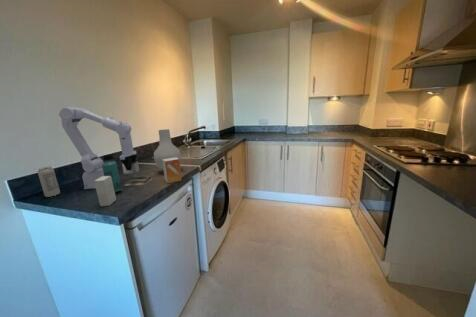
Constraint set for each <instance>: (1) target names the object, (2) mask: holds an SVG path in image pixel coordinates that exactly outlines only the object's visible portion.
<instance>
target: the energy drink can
mask: <svg viewBox="0 0 476 317" xmlns="http://www.w3.org/2000/svg"><path fill="white" fill-rule="evenodd" d="M55 172H56V171H55V169H54V168H53V167H52V166H50V165H49V166H43V167H42V166H41V167H39V168H38V170H37V175H38V178H39V181H40V185H41V187H42V188H41V189H42V191H43V195H44V197H46V198H47V197H51V196H55V197H57V196H56V195H58V194H59V195H60V194H61V190H60V186H59V183H58V179H57V177H56V176H57V175H56V173H55ZM59 195H58V196H59ZM51 198H52V197H51Z"/></svg>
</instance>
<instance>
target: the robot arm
mask: <svg viewBox="0 0 476 317" xmlns="http://www.w3.org/2000/svg"><path fill="white" fill-rule="evenodd" d="M58 116H59V117H60V119H61V127H62V129H63V130H64V132H65V133H66V134H67V136H68V138H69V139H70V141H71V143H72V144H73V145H74V147H75V149H76V150H77V152H78V153H79V155H80V156H81V159H80V163H81V164H82V165H81V166H82V169H83V171H84V172H83V173H82V181H83V185H84V187H83V189H84V190H88V189H89V190H91V189H96V187H95V183H94V181H95V180H97V179H98V178H100V177H102V176H104V172H103V167H102V164H103V163H104V162H105V161H104V159H103V158H101V157H99V155H98V154H96V153H94V152H93V150H92V148H91V147H90V145H89V144H88V142H87V140H85V138H84V136H83V134H82V133H81V132H80V130H79V128H78V125H79V123H80V122H81V121H82V120H83V119H88V120H90V121H93V122H96V123H99V124H101V126H102V127H104V128H106V129H108V130H111V131H113V132H115V133H116V134H117V135H118V136H119V139H118V140H119V142H120V149H121V155H120V156H119V160H120V162H121V163H122V164H124V166H125V168H126V170H127V171H128V170H131V162H137V158H138V155H137V153H138V152H137V150H134V146H133V140H132V135H131V132H132V126H131V125H130V124H128V123H127V122H123V121H120V120H119V121H118V120H116V119H114V118H113V117H112V116H107V117H103V116H100V115H99V114H96V113H94V112H92V111H90V110H88V109H85V108H82V107H80V106H76V107H71V106H64V107H61V109H60V111H59V113H58Z"/></svg>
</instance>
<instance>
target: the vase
mask: <svg viewBox="0 0 476 317" xmlns="http://www.w3.org/2000/svg"><path fill="white" fill-rule="evenodd" d="M157 132H158V136H159V145H158V146H157V148H156V149H155V150H154V152H153V160H154V162H155V164H156V167H157V168H159V169H160V170H162V171H164V169H163V162H162V159H168V158H174V157H177V158H178V159H179V161H180V162H181V151H180V149H179V148H178V147H177V146H176V145H174V144H173V141H172V138H171V132H170V129H158V131H157Z"/></svg>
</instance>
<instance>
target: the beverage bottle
mask: <svg viewBox="0 0 476 317" xmlns="http://www.w3.org/2000/svg"><path fill="white" fill-rule="evenodd" d="M102 157H103V158H102V160H103V162H104V163H103V164H102V169H103V174H104V176H111V178H112V183H113V187H114V191H115V193H117V192H119V191H121V190H122V183H121V177H120V173H119V169H118V163H117V162H116V161H115V160H114V156H113V154H110V153H109V154H105V155H104V154H103V156H102Z"/></svg>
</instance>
